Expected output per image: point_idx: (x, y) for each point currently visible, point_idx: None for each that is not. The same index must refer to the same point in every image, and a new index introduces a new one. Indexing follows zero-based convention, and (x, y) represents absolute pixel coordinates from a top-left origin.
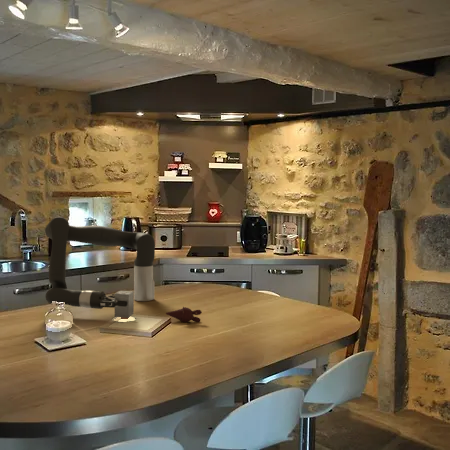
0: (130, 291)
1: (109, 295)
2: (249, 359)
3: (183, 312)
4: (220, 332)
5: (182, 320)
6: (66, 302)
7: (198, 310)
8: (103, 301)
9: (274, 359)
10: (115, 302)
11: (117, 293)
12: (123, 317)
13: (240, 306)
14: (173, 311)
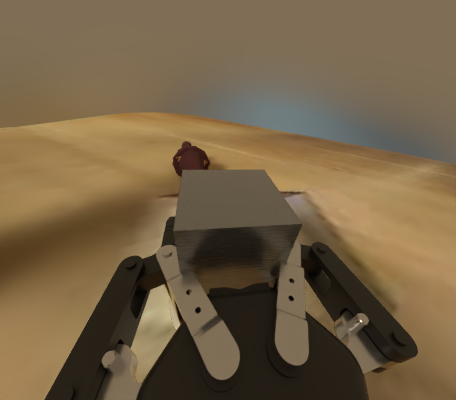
0: (194, 177)
1: (228, 352)
2: (291, 137)
3: (204, 153)
4: (228, 149)
5: (207, 168)
6: None
7: (188, 142)
8: (390, 317)
9: (279, 131)
10: (304, 247)
11: (285, 210)
12: None
13: (75, 143)
14: (198, 163)
